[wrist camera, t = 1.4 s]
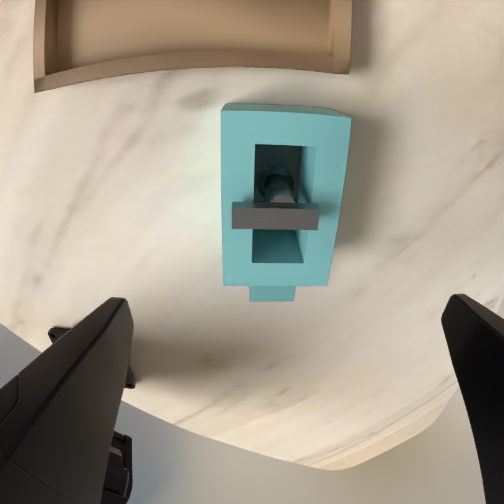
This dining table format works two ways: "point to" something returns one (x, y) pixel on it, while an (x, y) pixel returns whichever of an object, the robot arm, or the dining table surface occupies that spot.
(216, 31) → the tray
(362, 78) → the dining table surface
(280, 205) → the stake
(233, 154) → the teal hollow block
